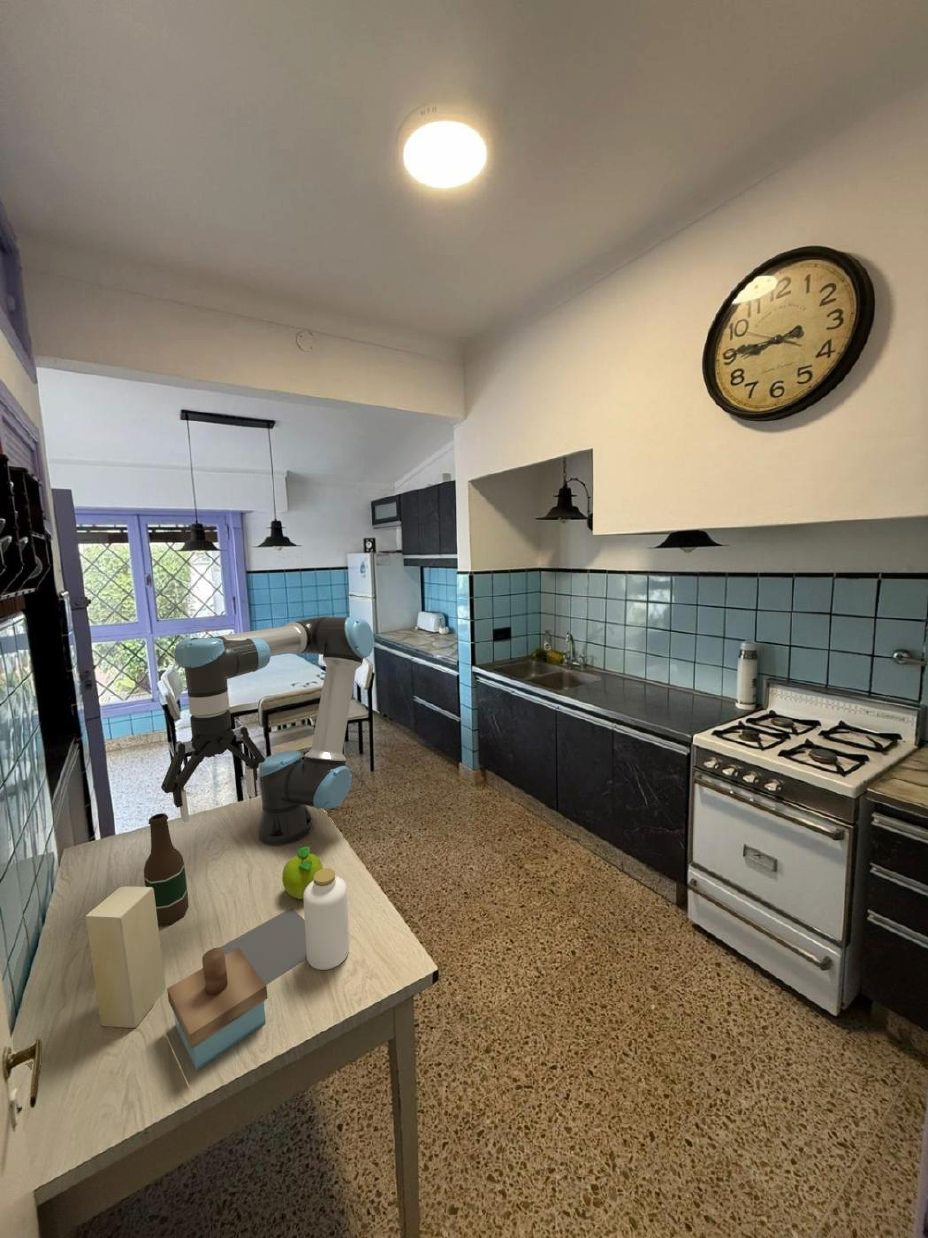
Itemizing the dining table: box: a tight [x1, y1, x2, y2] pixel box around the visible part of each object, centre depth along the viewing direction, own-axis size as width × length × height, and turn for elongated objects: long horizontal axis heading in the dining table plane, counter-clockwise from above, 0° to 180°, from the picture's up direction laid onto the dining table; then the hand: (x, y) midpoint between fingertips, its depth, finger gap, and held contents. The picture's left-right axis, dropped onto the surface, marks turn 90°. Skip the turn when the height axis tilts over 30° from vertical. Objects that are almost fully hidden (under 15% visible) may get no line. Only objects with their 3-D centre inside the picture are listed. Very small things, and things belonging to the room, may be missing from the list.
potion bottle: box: [303, 867, 350, 971], centre depth 98 cm, size 8×8×18 cm
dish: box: [173, 1001, 267, 1072], centre depth 85 cm, size 11×11×5 cm
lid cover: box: [166, 946, 268, 1049], centre depth 84 cm, size 12×12×8 cm
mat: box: [220, 907, 307, 986], centre depth 102 cm, size 16×16×1 cm
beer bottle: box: [143, 812, 190, 928], centre depth 111 cm, size 8×8×24 cm
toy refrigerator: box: [85, 885, 167, 1029], centre depth 88 cm, size 8×7×21 cm
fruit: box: [281, 846, 324, 900], centre depth 118 cm, size 9×9×10 cm
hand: (219, 807), depth 107 cm, fingers open, 13 cm apart
